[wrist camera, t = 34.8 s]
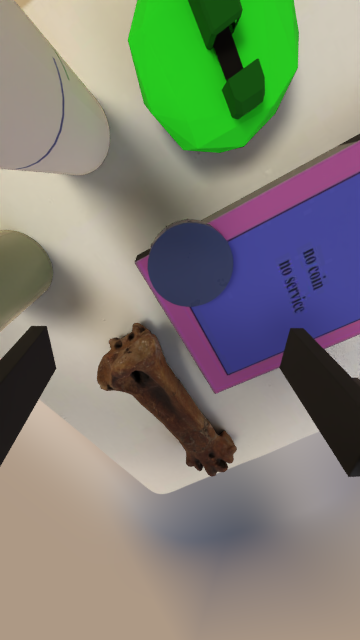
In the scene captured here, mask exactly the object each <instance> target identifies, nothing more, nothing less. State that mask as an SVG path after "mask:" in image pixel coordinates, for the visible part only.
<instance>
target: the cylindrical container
mask: <svg viewBox="0 0 360 640" xmlns="http://www.w3.org/2000/svg"><path fill="white" fill-rule="evenodd" d="M109 145H110V130H109V125H108V121H107V118H106V115H105V113H104V111H103V109H102V107H101V106H100V104H99V102H98V101H97V100H96V99H95V97H94V96H93V95H92V94H91V92H90V91H89V90H88V89H87V88H86V86H85V85H84V84H83V83H82V82H81V80H80V79H79V78H78V77H77V76H76V74H75V73H74V72H73V71H72V69H71V68H70V67H69V66H68V65H67V63H66V62H65V61H64V60H63V59H62V57H61V56H60V55H59V54H58V52H57V51H56V50H55V49H54V48H53V46H52V45H51V44H50V43H49V42H48V40H47V39H46V38H45V37H44V36H43V34H42V33H41V32H40V31H39V29H38V28H37V27H36V26H35V25H34V23H33V22H32V21H31V20H30V19H29V17H28V16H27V15H26V14H25V13H24V11H23V10H22V9H21V8H20V7H19V5H18V4H17V3H16V2H15V1H14V0H0V169H10V170H22V171H33V172H45V173H56V174H67V175H85V174H88V173H90V172H93V171H94V170H96V169H97V168H98V167H99V166H100V165H101V164H102V163H103V161H104V159H105V157H106V155H107V153H108V149H109Z"/></svg>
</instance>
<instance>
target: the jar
mask: <svg viewBox="0 0 360 640" xmlns="http://www.w3.org/2000/svg"><path fill="white" fill-rule="evenodd" d="M52 277H53V270H52V265H51V262H50V259H49V257H48V255H47V253H46V252H45V251H44V249H43V248H42V247H41V246H40V245H39V244H38V243H37V242H36V241H34V240H33V239H32V238H30V237H28V236H27V235H25V234H23V233H20V232H17V231H12V230H0V332H1V331H2V330H3V329H4V328H5V327H6V326H8V325H9V324H10V323H11V322H12V321H13V320H14V319H15V318H16V317H18V316H19V315H20V314H21V313H22V312H23V311H24V310H25V309H26V308H28V307H29V306H30V305H31V304H32V303H33V302H34V301H35V300H37V299H38V298H39V297H40V296H41V295H42V294H43V293H44V292H45V291H46V290H47V289H48V288H49V286H50V284H51V282H52Z"/></svg>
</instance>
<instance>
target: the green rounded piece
mask: <svg viewBox="0 0 360 640" xmlns="http://www.w3.org/2000/svg"><path fill="white" fill-rule="evenodd" d="M298 40H299V31H298V25H297V19H296V13H295V6H294V0H137V4H136V8H135V12H134V17H133V21H132V25H131V29H130V33H129V37H128V42H129V46H130V50H131V54H132V58H133V62H134V66H135V70H136V74H137V78H138V82H139V85H140V89H141V93H142V97H143V101H144V104H145V106H146V107H147V108H148V109H149V111H150V112H151V113H152V115H153V116H154V117H155V118H156V119H157V120H158V121H159V123H160V124H161V125H162V126H163V127H164V128H165V130H166V131H167V132H168V133H169V134H170V135H171V136H172V138H173V139H174V140H175V141H176V142H177V143H178V145H179V146H180V147H181V148H182V149H183V150H188V151H202V152H216V153H221V152H225V151H229V150H232V149H236V148H240V147H244V146H245V145H246V144H247V143H248V142H249V141H250V140H251V139H252V137H253V136H254V135H255V134H256V133H257V132H258V131H259V130H260V129H261V128H262V127H263V126H264V125H265V124H266V123H267V122H268V121H269V120H270V119H271V118H272V116H273V115H274V114H275V113H276V111H277V109H278V107H279V105H280V103H281V101H282V99H283V97H284V95H285V93H286V91H287V88H288V86H289V84H290V82H291V80H292V78H293V76H294V74H295V72H296V70H297V68H298Z"/></svg>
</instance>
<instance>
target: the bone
mask: <svg viewBox="0 0 360 640" xmlns="http://www.w3.org/2000/svg"><path fill="white" fill-rule="evenodd" d="M109 344H110V347H111V350H110V351H109V352H108V353H107V354H105V355H104V356H103V358H102V360H101V362H100V364H99V366H98V371H97V381H98V384H100V387H101V389H104V390H106V391H111V390H116V391H122V392H126V393H129V394H131V395H133V396H134V397H135V398H136V399H137V400H138V401H139V402H140V403H141V405H143V406H144V407H145V408H146V409H147V410H148V411H150V412H151V413H152V414H153V415H154V416H155V417H156V418H157V419H158V420H159V421H161V422H162V423H163V424H164V425H165V426H166V428H167V429H168V430H169V431H170V432H171V433H172V434H173V435H174V436H175V437H176V438H177V439H178V440H179V442H180V443H181V445H182V446H183V448H184V449H185V450H186V464H187V465H188V466H190V467H192V466H194V467H195V468H196V469H197V470H199V471H201V470H202V468H203V466H204V468H205V470H206V472H207V474H208V475H210V476H215V475H216V473H217V472H225V471H226V470H227V468H228V466H227V463H232V462H233V460H234V459H233V454H234V453H235V452H236V450H237V448H236V446H235V445H234V442H233V440H232V439H231V437H230V436H229V435H228V434H227V432H226V431H223V432H222V433H221V434H220V435H217V434H216V431H215V430H214V429H213V427H212V426H211V424H210V422H209V421H208V419H205V417H204V416H203V414H202V413H201V411H200V410H199V409H198V407H197V406H196V404H195V403H194V401H193V400H192V398H191V397H190V395H189V394H188V393H187V391H186V390H185V388H184V387H183V385H182V384H181V383H180V381H179V380H178V379H177V378H176V377H175V375H174V373H173V372H172V370H171V369H170V367H169V366H168V364H167V363H166V360H165V357H164V355H163V353H162V350H161V346H160V344H159V342H158V339H157V337H156V336H155V335H154V334H152V333H151V332H150V330H148V329H147V328H146V327H144V326H143V325H141V324H139V323H134V324H133V329H132V332H131V333H129V334H127V335H126V336H124V337H123V338H121V339H119V338H112V339H110V340H109ZM226 462H227V463H226Z"/></svg>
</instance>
